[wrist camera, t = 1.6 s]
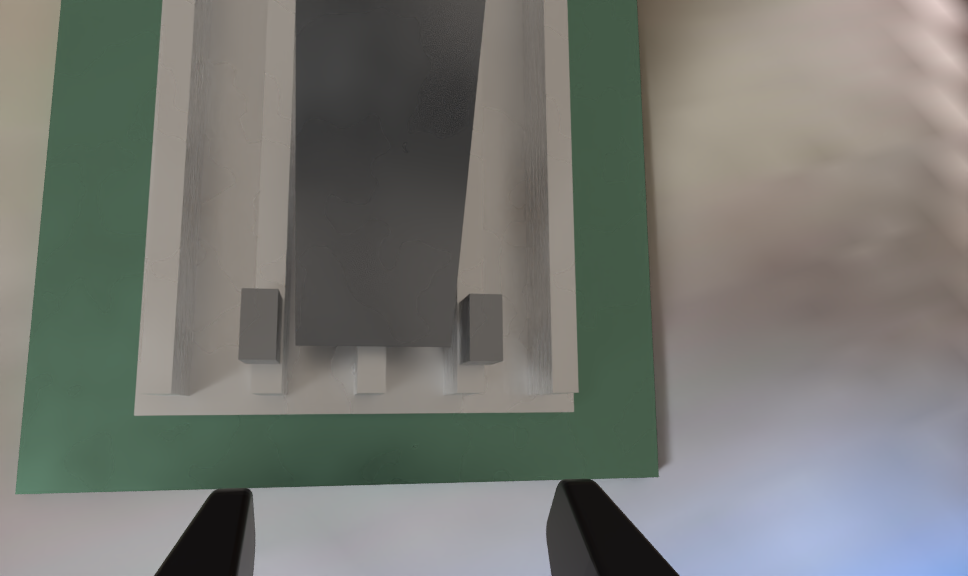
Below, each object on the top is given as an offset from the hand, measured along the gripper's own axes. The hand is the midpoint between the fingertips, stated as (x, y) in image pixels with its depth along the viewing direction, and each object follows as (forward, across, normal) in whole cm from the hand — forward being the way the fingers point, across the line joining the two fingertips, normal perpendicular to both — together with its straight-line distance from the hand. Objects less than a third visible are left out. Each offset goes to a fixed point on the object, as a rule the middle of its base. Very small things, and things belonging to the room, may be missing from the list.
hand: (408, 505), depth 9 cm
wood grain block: (+10, 0, -1) cm, 10 cm away
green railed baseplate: (+16, 0, +3) cm, 16 cm away
